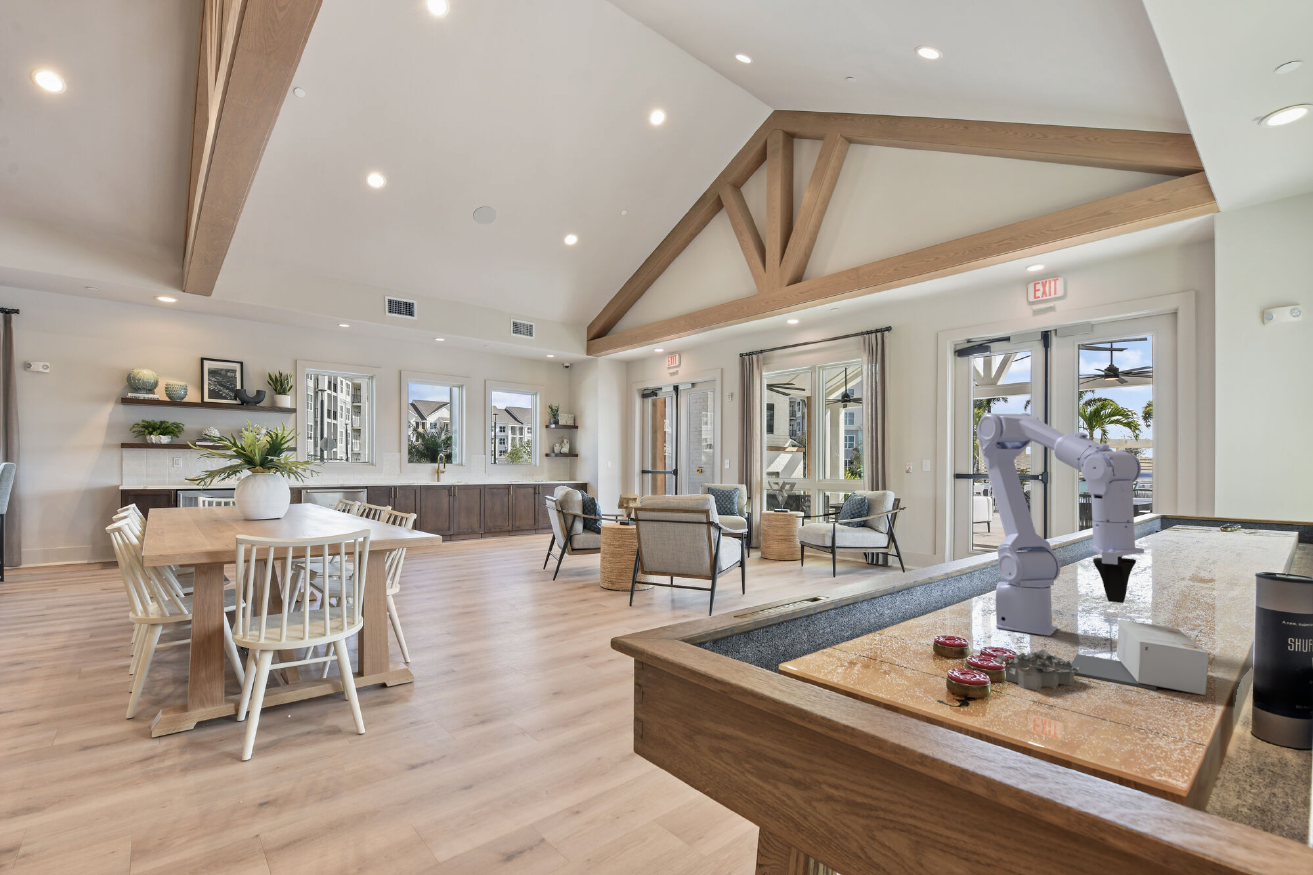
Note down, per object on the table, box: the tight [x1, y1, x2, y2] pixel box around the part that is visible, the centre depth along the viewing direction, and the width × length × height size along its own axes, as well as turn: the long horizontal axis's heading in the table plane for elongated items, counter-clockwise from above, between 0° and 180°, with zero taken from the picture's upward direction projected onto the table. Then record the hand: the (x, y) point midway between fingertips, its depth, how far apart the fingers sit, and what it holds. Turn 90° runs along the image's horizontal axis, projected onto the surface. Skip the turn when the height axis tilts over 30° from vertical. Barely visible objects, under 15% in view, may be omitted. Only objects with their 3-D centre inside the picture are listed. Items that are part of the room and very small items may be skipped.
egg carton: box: [994, 649, 1080, 691], centre depth 94 cm, size 10×7×4 cm
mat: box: [1070, 653, 1158, 691], centre depth 97 cm, size 11×11×1 cm
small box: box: [1116, 619, 1210, 696], centre depth 95 cm, size 8×6×13 cm
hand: (1116, 601), depth 104 cm, fingers closed
